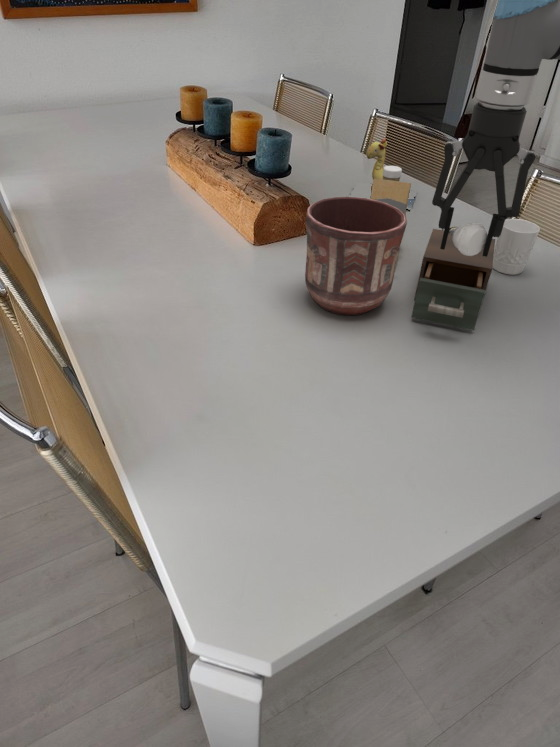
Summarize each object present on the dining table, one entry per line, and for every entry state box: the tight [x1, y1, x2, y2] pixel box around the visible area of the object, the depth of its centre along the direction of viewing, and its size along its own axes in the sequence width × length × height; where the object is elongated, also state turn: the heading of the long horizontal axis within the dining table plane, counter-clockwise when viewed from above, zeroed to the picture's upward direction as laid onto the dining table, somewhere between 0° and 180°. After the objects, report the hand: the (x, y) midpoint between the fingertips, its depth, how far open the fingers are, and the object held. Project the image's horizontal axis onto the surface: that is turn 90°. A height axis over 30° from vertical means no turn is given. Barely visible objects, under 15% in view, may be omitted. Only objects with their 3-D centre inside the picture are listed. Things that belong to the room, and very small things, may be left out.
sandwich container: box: [370, 179, 412, 269], centre depth 120 cm, size 9×15×15 cm, turn 166°
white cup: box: [492, 218, 541, 276], centre depth 119 cm, size 8×8×10 cm
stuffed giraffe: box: [366, 137, 416, 209], centre depth 151 cm, size 16×18×16 cm
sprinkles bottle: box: [383, 165, 403, 182], centre depth 138 cm, size 5×5×13 cm
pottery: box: [304, 196, 408, 316], centre depth 102 cm, size 18×18×18 cm
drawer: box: [411, 262, 486, 331], centre depth 102 cm, size 18×11×8 cm, turn 160°
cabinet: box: [413, 228, 496, 302], centre depth 110 cm, size 15×13×10 cm
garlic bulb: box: [449, 222, 488, 256], centre depth 93 cm, size 6×6×5 cm
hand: (463, 249), depth 94 cm, fingers closed on garlic bulb, 6 cm apart
